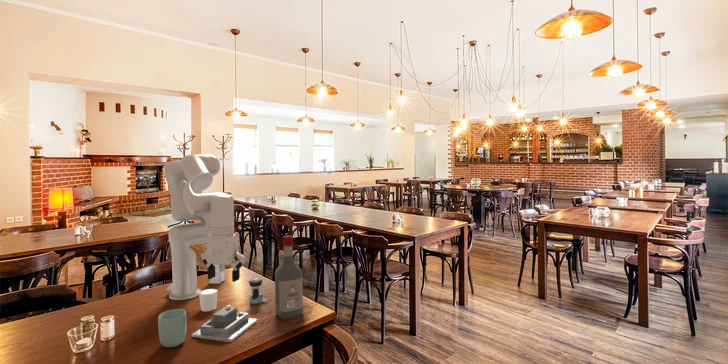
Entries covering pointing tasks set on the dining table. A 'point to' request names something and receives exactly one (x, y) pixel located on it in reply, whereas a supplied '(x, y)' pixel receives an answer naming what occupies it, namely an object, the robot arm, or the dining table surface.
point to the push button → (256, 291)
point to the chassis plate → (225, 329)
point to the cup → (172, 327)
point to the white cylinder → (208, 299)
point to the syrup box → (218, 274)
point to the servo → (225, 316)
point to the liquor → (288, 284)
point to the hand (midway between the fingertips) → (223, 279)
